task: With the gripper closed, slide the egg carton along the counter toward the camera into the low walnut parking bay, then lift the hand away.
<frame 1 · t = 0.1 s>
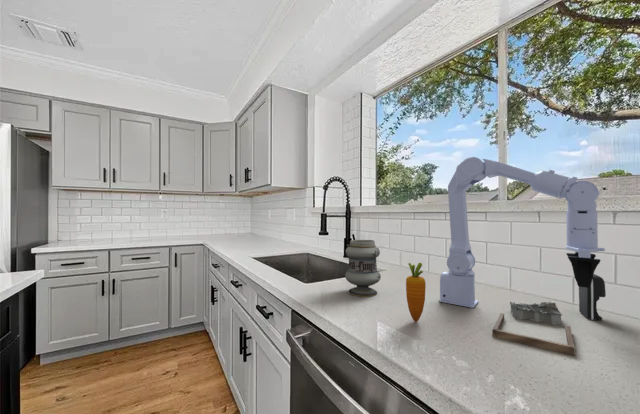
hand: (582, 284, 71), 10 cm above the countertop, tool pointing down, fingers open, 7 cm apart
carrot: (415, 322, 71), on the countertop
parking bay: (532, 334, 64), on the countertop
apothecary jar: (362, 293, 98), on the countertop
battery: (592, 318, 76), on the countertop
egg carton: (534, 319, 75), on the countertop
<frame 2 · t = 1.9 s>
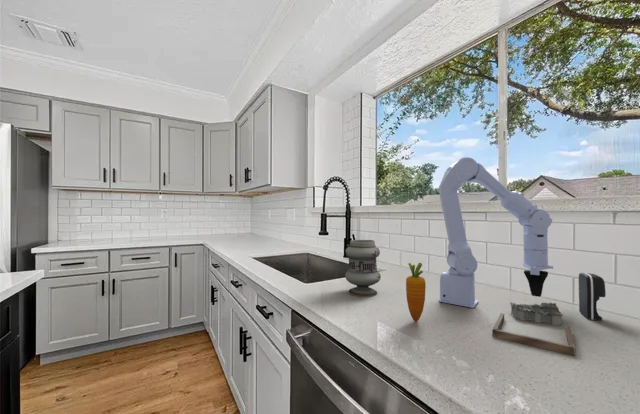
hand: (536, 295, 84), 3 cm above the countertop, tool pointing down, fingers closed
nothing on the countertop moved.
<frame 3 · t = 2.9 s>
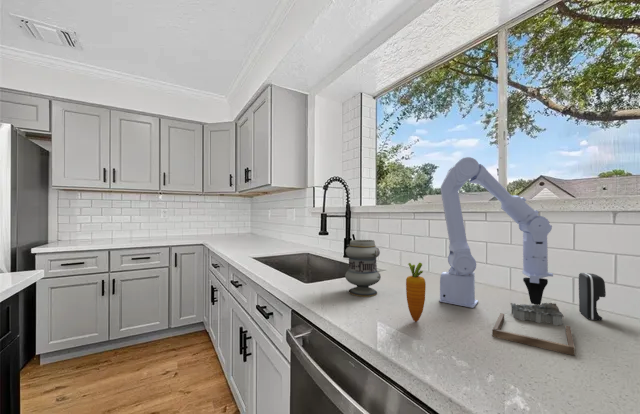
hand: (535, 303, 82), 1 cm above the countertop, tool pointing down, fingers closed
nothing on the countertop moved.
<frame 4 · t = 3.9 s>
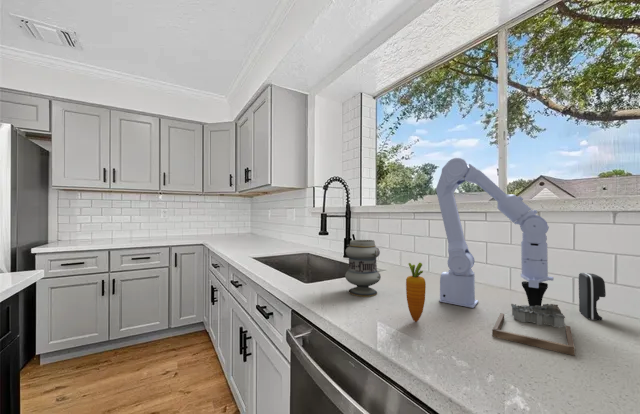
hand: (534, 309, 77), 1 cm above the countertop, tool pointing down, fingers closed
egg carton: (536, 321, 73), on the countertop
everything else where it was.
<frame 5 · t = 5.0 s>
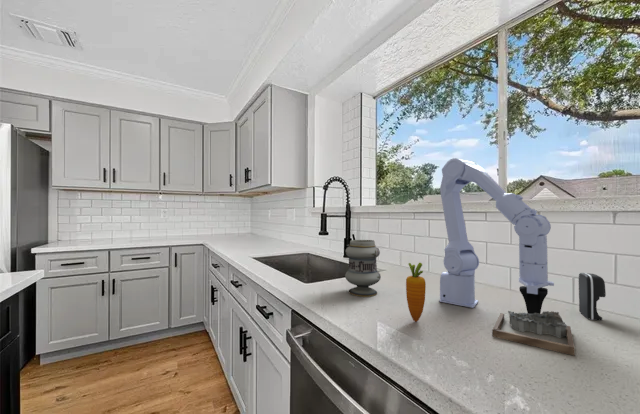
hand: (533, 316, 71), 1 cm above the countertop, tool pointing down, fingers closed
egg carton: (536, 330, 67), on the countertop, touching gripper
everything else where it was.
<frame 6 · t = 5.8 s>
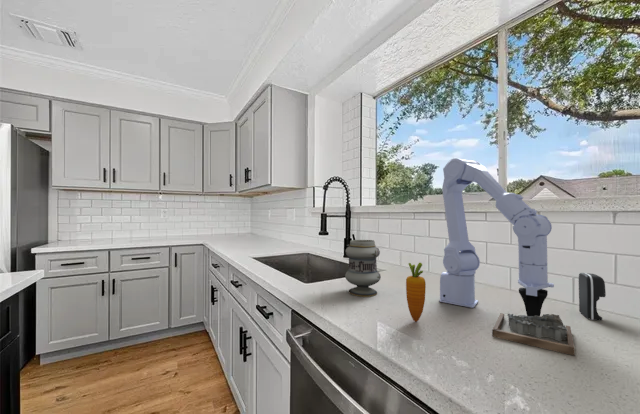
hand: (533, 319, 70), 1 cm above the countertop, tool pointing down, fingers closed
egg carton: (535, 333, 66), on the countertop
everything else where it was.
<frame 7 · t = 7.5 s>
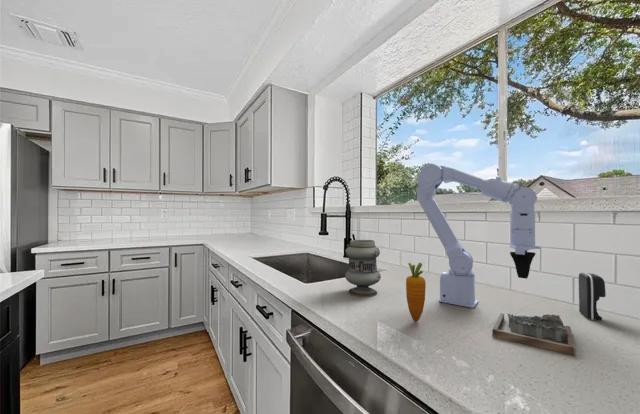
hand: (522, 277, 80), 9 cm above the countertop, tool pointing down, fingers closed
nothing on the countertop moved.
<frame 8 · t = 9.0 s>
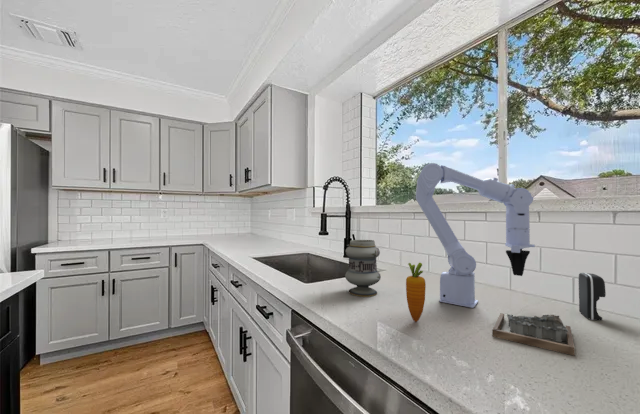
hand: (518, 275, 84), 9 cm above the countertop, tool pointing down, fingers closed
nothing on the countertop moved.
at the end: egg carton inside the target area on the parking bay (1.9 cm from its centre), point -0.5 cm above the parking bay's base; egg carton moved 12.6 cm from its start; egg carton tilted 1° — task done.
